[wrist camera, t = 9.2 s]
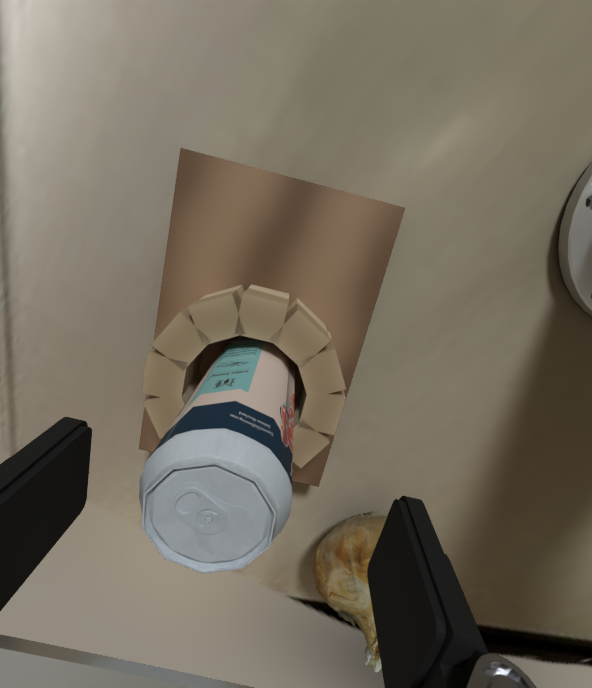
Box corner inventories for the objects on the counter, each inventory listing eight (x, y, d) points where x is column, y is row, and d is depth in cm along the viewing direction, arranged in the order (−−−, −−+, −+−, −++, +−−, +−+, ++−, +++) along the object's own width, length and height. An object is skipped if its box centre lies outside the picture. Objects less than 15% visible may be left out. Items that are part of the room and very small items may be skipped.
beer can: (256, 420, 23) (214, 608, 11) (199, 369, 22) (90, 519, 10) (312, 370, 22) (326, 522, 10) (254, 315, 21) (200, 414, 9)
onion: (432, 530, 29) (482, 638, 21) (355, 584, 30) (375, 703, 22) (369, 470, 27) (399, 563, 19) (291, 530, 29) (290, 638, 21)
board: (393, 210, 22) (428, 202, 16) (316, 464, 27) (322, 526, 21) (193, 157, 21) (155, 128, 15) (153, 429, 26) (112, 484, 20)
